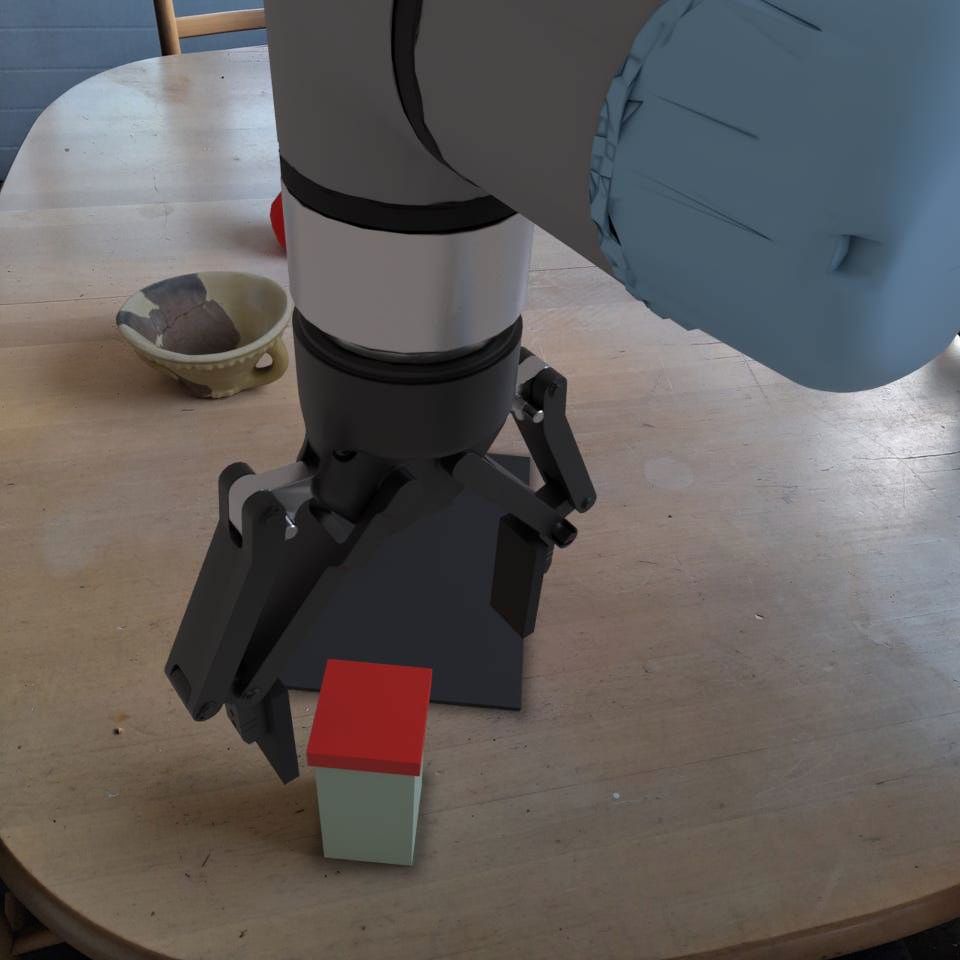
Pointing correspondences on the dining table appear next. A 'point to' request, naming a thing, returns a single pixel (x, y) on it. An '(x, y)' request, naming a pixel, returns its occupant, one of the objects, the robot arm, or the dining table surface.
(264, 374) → the bowl
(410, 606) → the mat
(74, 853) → the dining table surface
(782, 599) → the dining table surface
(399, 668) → the container
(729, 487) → the dining table surface
